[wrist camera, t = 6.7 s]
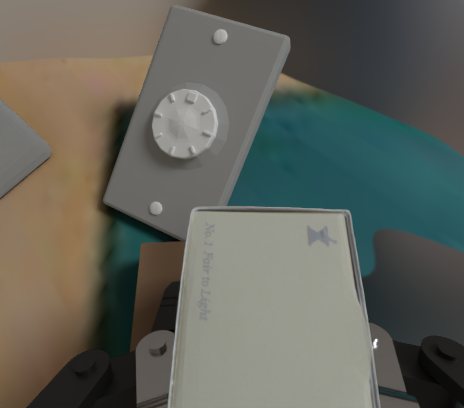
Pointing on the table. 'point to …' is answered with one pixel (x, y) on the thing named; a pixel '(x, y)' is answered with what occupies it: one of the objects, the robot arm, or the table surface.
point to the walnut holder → (154, 283)
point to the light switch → (194, 118)
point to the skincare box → (271, 312)
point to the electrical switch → (18, 149)
